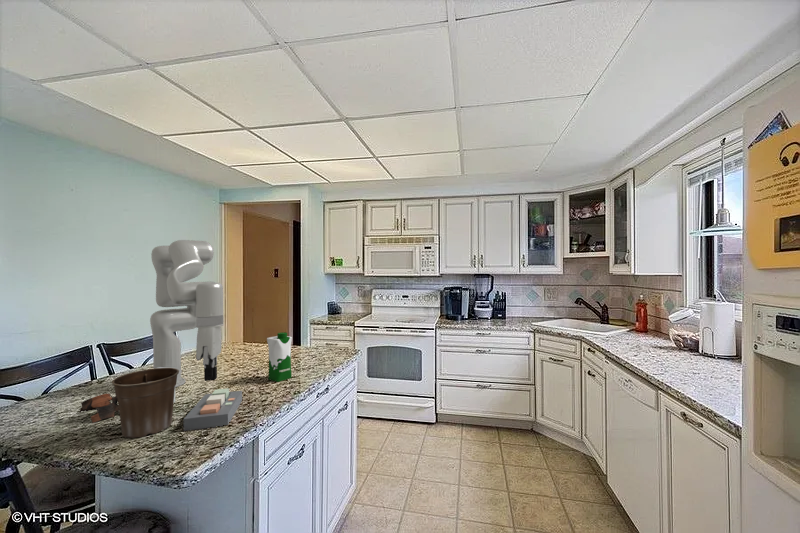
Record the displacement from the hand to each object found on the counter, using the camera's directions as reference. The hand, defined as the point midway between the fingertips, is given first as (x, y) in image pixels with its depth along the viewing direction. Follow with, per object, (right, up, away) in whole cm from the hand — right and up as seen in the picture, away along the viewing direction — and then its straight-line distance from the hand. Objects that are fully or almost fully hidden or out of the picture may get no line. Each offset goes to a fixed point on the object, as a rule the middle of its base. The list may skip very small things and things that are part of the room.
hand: (210, 379), depth 107 cm
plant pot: (-16, -13, -5) cm, 22 cm away
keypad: (-1, -13, +5) cm, 14 cm away
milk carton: (+7, -13, +41) cm, 44 cm away
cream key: (-1, -10, +5) cm, 12 cm away
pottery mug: (-38, -14, +5) cm, 41 cm away
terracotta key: (0, -11, -1) cm, 11 cm away
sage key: (-3, -11, +11) cm, 15 cm away
